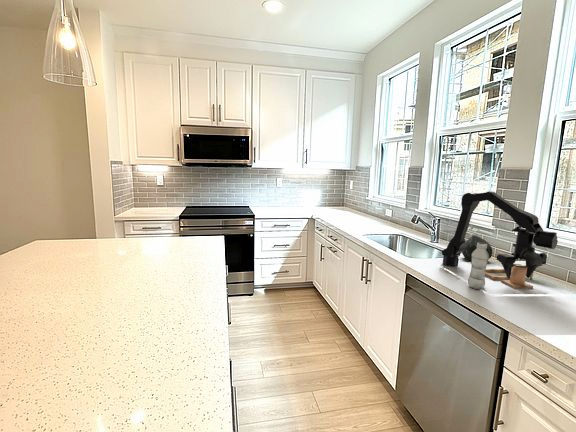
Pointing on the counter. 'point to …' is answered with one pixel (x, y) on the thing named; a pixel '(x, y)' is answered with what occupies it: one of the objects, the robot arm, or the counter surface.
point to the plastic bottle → (478, 266)
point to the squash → (472, 246)
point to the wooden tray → (496, 274)
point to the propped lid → (525, 263)
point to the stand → (525, 286)
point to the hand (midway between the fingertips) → (517, 277)
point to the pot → (518, 274)
